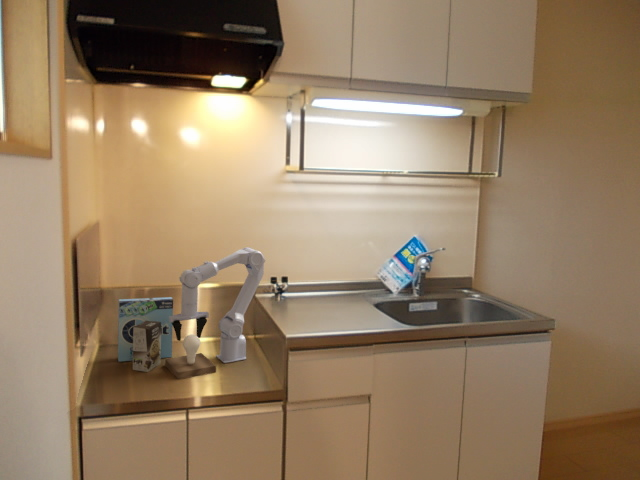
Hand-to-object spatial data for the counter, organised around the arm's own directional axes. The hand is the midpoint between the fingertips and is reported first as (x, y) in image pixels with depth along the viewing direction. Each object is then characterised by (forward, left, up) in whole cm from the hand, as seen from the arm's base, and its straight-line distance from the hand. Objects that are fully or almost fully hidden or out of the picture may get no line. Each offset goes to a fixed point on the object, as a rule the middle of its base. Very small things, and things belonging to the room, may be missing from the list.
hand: (188, 338), depth 187 cm
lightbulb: (+1, +5, -8) cm, 10 cm away
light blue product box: (+12, -14, -11) cm, 21 cm away
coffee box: (+14, -5, -11) cm, 18 cm away
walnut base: (+1, +4, -10) cm, 11 cm away
